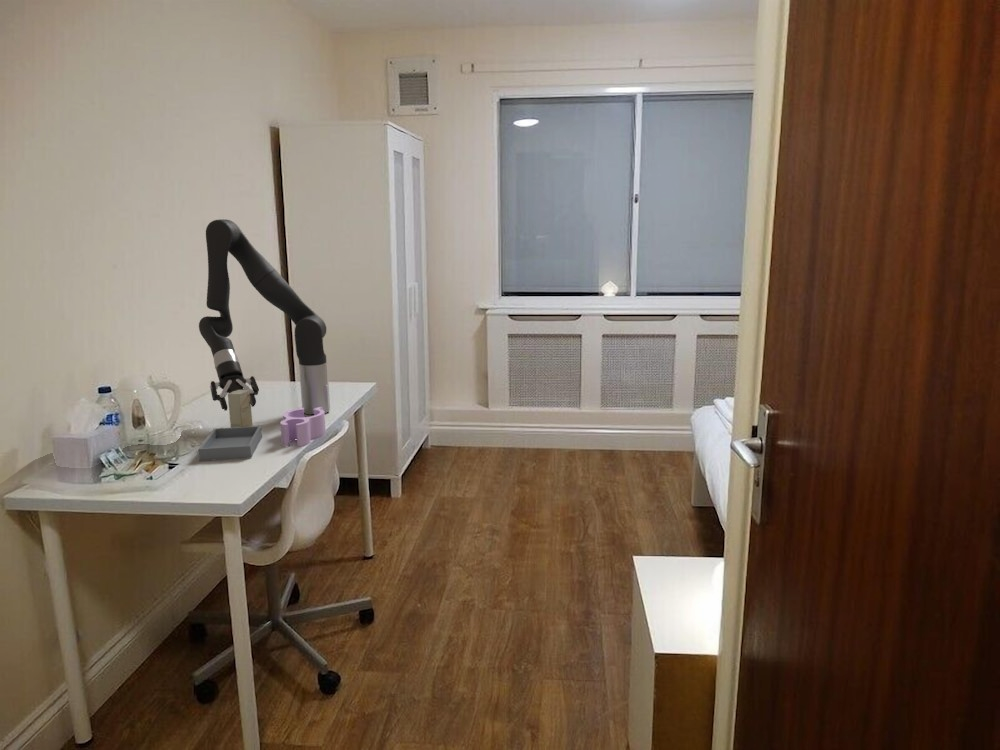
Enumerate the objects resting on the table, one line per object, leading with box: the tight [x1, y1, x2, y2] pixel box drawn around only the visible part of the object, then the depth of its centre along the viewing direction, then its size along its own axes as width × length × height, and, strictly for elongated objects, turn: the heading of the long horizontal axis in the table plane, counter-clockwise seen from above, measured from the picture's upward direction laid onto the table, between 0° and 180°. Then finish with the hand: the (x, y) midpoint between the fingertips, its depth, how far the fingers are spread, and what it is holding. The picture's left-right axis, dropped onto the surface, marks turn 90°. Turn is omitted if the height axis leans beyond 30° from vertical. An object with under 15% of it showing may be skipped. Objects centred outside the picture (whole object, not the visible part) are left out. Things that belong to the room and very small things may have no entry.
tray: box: [197, 425, 263, 462], centre depth 213 cm, size 14×20×4 cm
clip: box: [279, 406, 327, 447], centre depth 223 cm, size 20×12×7 cm, turn 178°
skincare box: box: [227, 390, 254, 428], centre depth 232 cm, size 6×4×12 cm
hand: (240, 407), depth 232 cm, fingers open, 8 cm apart
